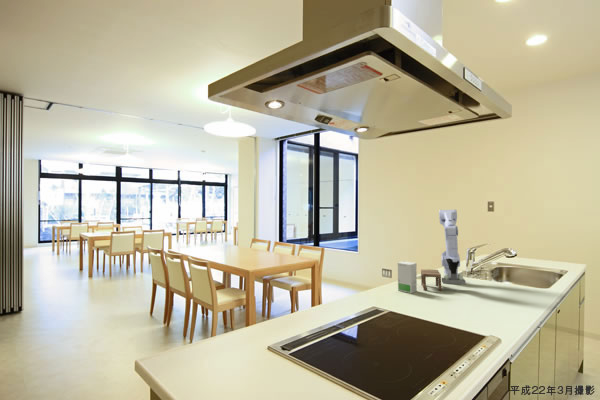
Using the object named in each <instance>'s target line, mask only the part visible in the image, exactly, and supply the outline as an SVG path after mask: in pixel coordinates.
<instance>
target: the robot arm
mask: <svg viewBox="0 0 600 400" xmlns="http://www.w3.org/2000/svg"><path fill="white" fill-rule="evenodd" d="M438 216H439V223H440V225H442V226H443V228H444V238H445V241H444V242H445V251H443V252H442V253H441V266H442V267H443V272H444V273H443V275H444V274H449V278H450V273H449V270H451V273H452V274H456V271H457V274H459V272H458V271H459V270H458V269H459V268H460V267H461V259H460V254H459V249H458V248H459V247H458V237H459V236H458V235H459V229H458V225H457V220H458V212H457V210H456V209H439V210H438ZM457 278H458V275H457Z"/></svg>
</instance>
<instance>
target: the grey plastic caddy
mask: <svg viewBox="0 0 600 400" xmlns="http://www.w3.org/2000/svg"><path fill="white" fill-rule="evenodd" d="M449 273H450V278H449V274H444V273H443V277H441V283H442V284H444V285H466V284H467V283H466V279H465V278H464V274H461V273H458V274H457V271H456V274H452V273H451V270H449ZM457 275H458V278H457Z"/></svg>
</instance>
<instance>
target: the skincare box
mask: <svg viewBox="0 0 600 400" xmlns="http://www.w3.org/2000/svg"><path fill="white" fill-rule="evenodd" d="M417 273H418V271H417V262H412V261H402V260H401V261H399V262H397V290H398V291H399V292H405V293H408V294H413V293H415V292H417V289H418V287H417V285H418V283H417V282H418V281H417V278H418V277H417Z"/></svg>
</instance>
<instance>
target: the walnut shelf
mask: <svg viewBox="0 0 600 400" xmlns="http://www.w3.org/2000/svg"><path fill="white" fill-rule="evenodd" d="M420 278H421V281H420V282H421V286H422V288H423V291H427V283H426V282H427V280H426V278H435V286H436V287H438V291H439V292H442V275H441V272H440V271H439V270H438V269H420Z"/></svg>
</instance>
